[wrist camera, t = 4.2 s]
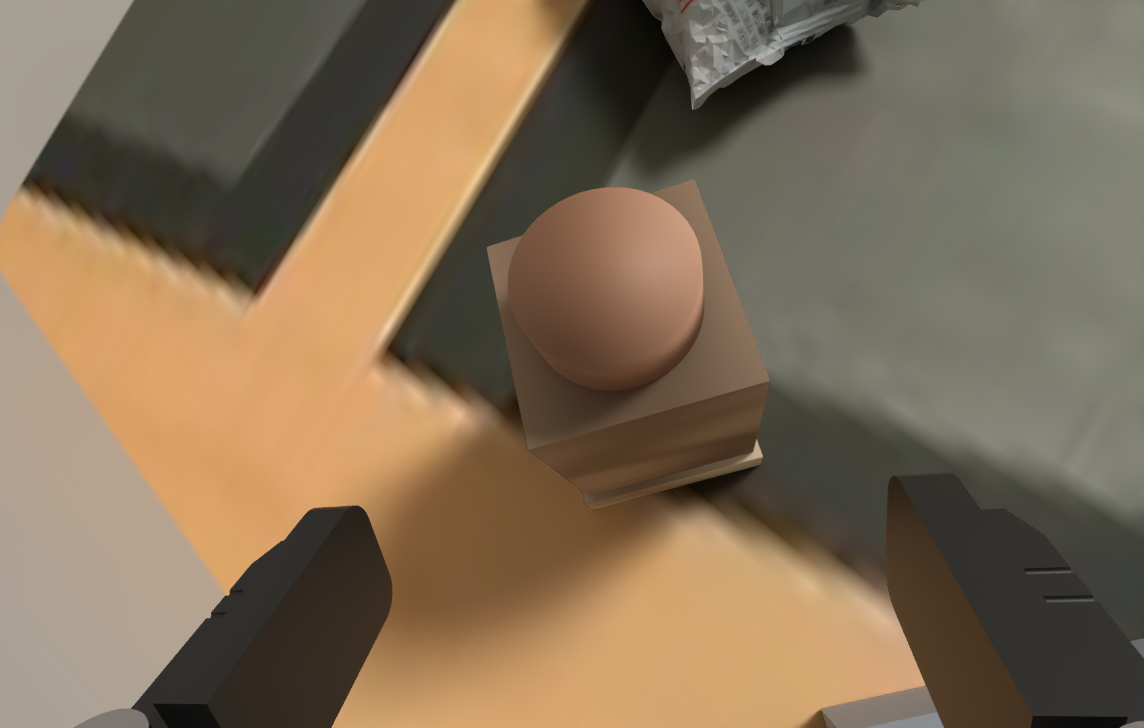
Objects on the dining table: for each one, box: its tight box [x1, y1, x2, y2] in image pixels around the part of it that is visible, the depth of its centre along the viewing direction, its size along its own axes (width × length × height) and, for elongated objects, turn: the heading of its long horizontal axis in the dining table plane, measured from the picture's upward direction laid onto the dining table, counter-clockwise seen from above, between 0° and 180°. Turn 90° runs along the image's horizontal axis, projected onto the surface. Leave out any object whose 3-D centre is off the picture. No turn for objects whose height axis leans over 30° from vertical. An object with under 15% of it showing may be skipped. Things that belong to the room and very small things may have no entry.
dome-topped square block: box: [487, 179, 770, 510], centre depth 16 cm, size 5×5×9 cm
